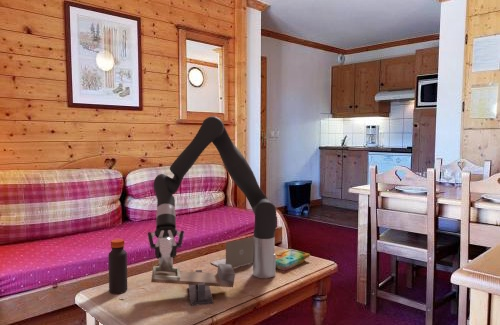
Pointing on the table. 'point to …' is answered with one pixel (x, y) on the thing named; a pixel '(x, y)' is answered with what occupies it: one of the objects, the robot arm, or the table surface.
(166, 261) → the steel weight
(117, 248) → the bottle
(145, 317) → the table surface
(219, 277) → the balance beam
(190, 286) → the fulcrum stand
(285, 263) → the puzzle game
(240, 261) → the laptop
